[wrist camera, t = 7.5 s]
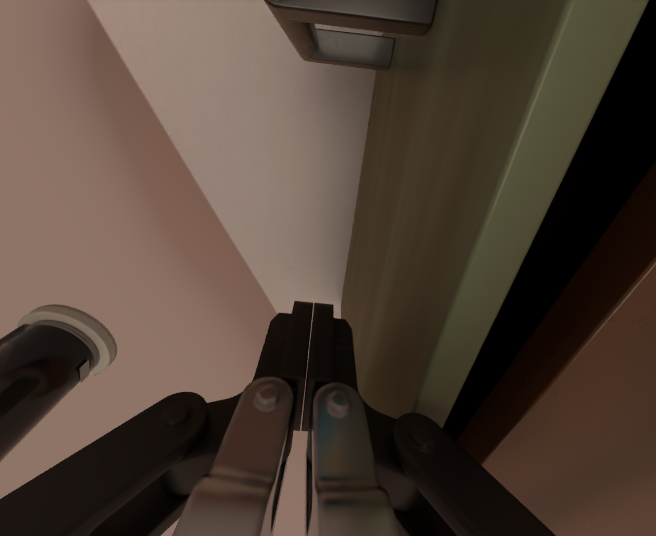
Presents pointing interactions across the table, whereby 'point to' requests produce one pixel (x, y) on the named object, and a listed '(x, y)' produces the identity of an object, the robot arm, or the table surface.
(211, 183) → the table surface
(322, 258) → the table surface
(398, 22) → the door
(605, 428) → the cupboard
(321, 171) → the table surface
